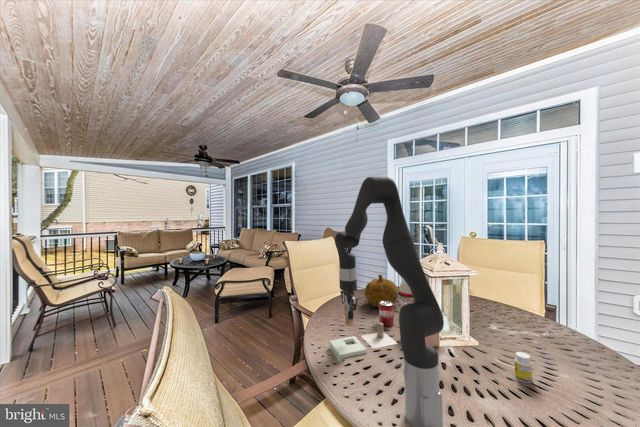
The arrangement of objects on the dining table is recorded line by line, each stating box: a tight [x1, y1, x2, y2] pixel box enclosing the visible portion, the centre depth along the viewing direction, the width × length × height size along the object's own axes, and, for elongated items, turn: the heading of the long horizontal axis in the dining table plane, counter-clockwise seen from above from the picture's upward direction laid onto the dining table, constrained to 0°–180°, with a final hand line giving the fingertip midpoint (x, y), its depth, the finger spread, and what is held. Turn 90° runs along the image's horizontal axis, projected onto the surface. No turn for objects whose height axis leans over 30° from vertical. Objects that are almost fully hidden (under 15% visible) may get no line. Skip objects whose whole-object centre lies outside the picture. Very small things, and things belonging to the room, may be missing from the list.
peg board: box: [329, 335, 368, 363], centre depth 111 cm, size 12×12×3 cm
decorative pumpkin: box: [364, 274, 399, 308], centre depth 163 cm, size 20×21×20 cm
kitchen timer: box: [398, 279, 413, 297], centre depth 184 cm, size 14×14×15 cm
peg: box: [344, 301, 354, 327], centre depth 113 cm, size 3×3×10 cm
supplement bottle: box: [514, 351, 533, 384], centre depth 90 cm, size 5×5×8 cm
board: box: [360, 321, 398, 350], centre depth 117 cm, size 12×12×8 cm
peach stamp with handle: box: [425, 332, 440, 348], centre depth 114 cm, size 11×11×15 cm
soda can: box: [378, 301, 395, 328], centre depth 133 cm, size 7×7×12 cm
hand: (349, 317), depth 113 cm, fingers closed on peg, 3 cm apart
